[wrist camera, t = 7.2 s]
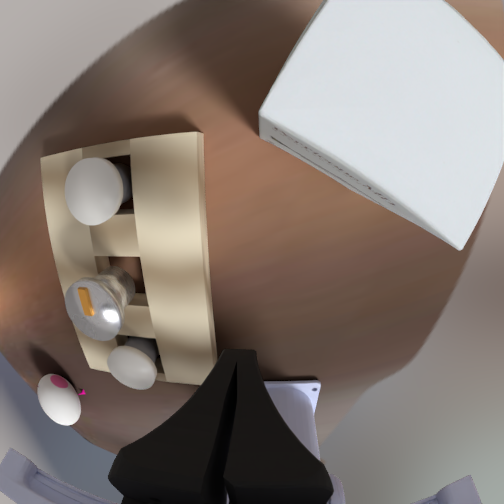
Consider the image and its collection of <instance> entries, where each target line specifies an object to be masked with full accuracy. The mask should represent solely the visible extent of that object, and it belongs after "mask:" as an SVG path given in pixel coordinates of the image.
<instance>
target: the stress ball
mask: <svg viewBox="0 0 504 504" xmlns="http://www.w3.org/2000/svg"><path fill="white" fill-rule="evenodd" d="M80 394H85V392H84V390H82V392H81V393H80ZM80 394H78V395H80ZM78 395H77V393H76V391H75V389H74V388H73V386H72V385H71V384H70V383H69V382H68V381H67V380H66V379H65V378H63V377H61V376H59V375H57V374H47V375H45V376H44V377H42V379H41V380H40V382H39V384H38V398H39V401H40V404H41V406H42V408H43V410H44V411H45V413H46V414H47V415H48V416H49V417H50V418H51V419H52V420H54V421H55V422H57V423H59V424H62V425H72V424H74V423H75V422H76V421H77V420H78V419H79V416H80V413H81V405H80V400H79V397H78ZM85 395H86V394H85Z"/></svg>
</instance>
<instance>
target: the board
mask: <svg viewBox="0 0 504 504" xmlns="http://www.w3.org/2000/svg"><path fill="white" fill-rule="evenodd" d="M125 155H130V158H131V176H132V190H133V202H134V209H119V210H118V211H117V212H116V214H115V215H114V216H113V217H112V218H110V219H109V220H107V221H105V222H103V223H101V224H98V225H86V224H83V223H81V222H80V221H78V220H77V219H76V218H75V217H74V216H73V215H72V213H71V212H70V210H69V208H68V206H67V203H66V199H65V182H66V178H67V175H68V173H69V171H70V170H71V168H72V167H73V166H74V165H75V164H76V163H77V162H79V161H80V160H83V159H86V158H94V157H100V158H104V159H105V158H111V157H118V156H125ZM40 159H41V174H42V186H43V195H44V203H45V211H46V217H47V224H48V230H49V235H50V240H51V245H52V250H53V255H54V259H55V264H56V268H57V272H58V276H59V280H60V283H61V287H62V290H63V294H64V297H65V295H66V292H67V290H68V288H69V287H70V286H71V285H72V284H74V283H75V282H76V281H77V280H79V279H80V278H83V277H93V278H95V277H96V276H97V275H98V274H99V273H101V272H102V271H103V270H104V269H105V268H107V267H109V266H110V263H109V258H108V256H137V257H140V259H141V266H142V272H143V278H144V284H145V289H146V294H144V293H135V295H134V297H133V299H132V300H131V301H130V303H129V304H128V305H127V306H126V308H125V309H124V313H125V321H124V324H123V326H122V328H121V329H120V331H119V332H118V334H117V335H116V336H115V337H114V338H113V339H111V340H108V341H99V340H95V339H92V338H90V337H88V336H87V335H85V334H84V333H83V332H81V331H80V330H79V329H78V328H77V327H76V326H75V324H74V323H73V325H74V328H75V331H76V334H77V336H78V339H79V342H80V344H81V347H82V349H83V352H84V354H85V357H86V359H87V361H88V364H89V366H90V368H92V369H97V370H102V371H106V372H110V370H109V368H108V365H107V359H108V357H109V355H110V354H111V352H112V351H113V349H114V348H116V347H118V346H124V345H125V344H126V342H127V340H128V338H127V335H128V336H136V337H145V338H155V339H156V341H157V345H158V350H159V354H160V357H161V359H160V358H157V359H156V361H155V363H154V364H155V366H156V369H157V376H156V378H155V380H159V381H167V382H176V383H185V384H195V385H201V384H202V383H203V382H204V380H205V379H206V377H207V376H208V375H209V373H210V372H211V370H212V369H213V367H214V365H215V364H216V362H217V360H218V358H217V349H216V339H215V329H214V318H213V307H212V295H211V283H210V269H209V255H208V239H207V222H206V201H205V176H204V137H203V133H200V132H186V133H175V134H165V135H157V136H149V137H141V138H134V139H127V140H121V141H115V142H109V143H104V144H98V145H93V146H88V147H84V148H79V149H75V150H70V151H66V152H62V153H58V154H54V155H50V156H46V157H42V158H40Z"/></svg>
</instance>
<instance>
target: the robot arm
mask: <svg viewBox="0 0 504 504" xmlns="http://www.w3.org/2000/svg"><path fill="white" fill-rule="evenodd" d="M320 386H321V384H320V381H318V380H309V381H263V379H262V376H261V373H260V370H259V367H258V362H257V357H256V351H255V350H244V349H224V350H223V351H222V353H221V355H220V357H219V359H218V360H217V362H216V364H215V365H214V367H213V369H212V370H211V372H210V373H209V375H208V376H207V377H206V379H205V380H204V382H203V383H202V384H201V386H200V387H199V388H198V389H197V390H196V392H195V393H194V394H193V395H192V397H191V398H190V399H189V400H188V401H187V402H186V403H185V404H184V405H183V406H182V407H181V408H180V409H179V410H178V411H177V412H176V413H175V414H173V415H172V416H171V417H170V418H169V419H168V420H166V421H165V422H164V423H163V424H161V425H160V426H158V427H157V428H156V429H154V430H153V431H151V432H150V433H148V434H147V435H145V436H144V437H142V438H140V439H138V440H137V441H135V442H133V443H131V444H129V445H127V446H125V447H123V448H121V450H120V451H119V453H118V455H117V456H116V458H115V460H114V462H113V465H112V467H111V470H110V472H109V475H108V479H109V481H110V482H111V484H112V485H113V486H114V487H115V488H116V489H117V490H119V492H120V493H121V494H123V495H124V497H123V500H122V503H121V504H345V496H344V491H343V486H342V483H341V480H340V479H339V478H338V477H336V476H334V474H328V472H327V470H326V468H325V466H324V464H323V463H322V462H321V461H320V455H319V448H318V441H317V434H316V427H315V420H314V412H315V408H316V404H317V399H318V395H319V391H320ZM0 491H1V492H3V493H4V494H5V495H6V496H8V497H9V498H10V499H12V500H13V501H14V502H16V503H17V504H117V503H114V502H111V501H108V500H105V499H103V498H100V497H98V496H95V495H92V494H90V493H87V492H85V491H83V490H80V489H78V488H76V487H73V486H72V485H69V484H67V483H65V482H63V481H61V480H59V479H57V478H55V477H53V476H51V475H49V474H47V473H45V472H44V471H42V470H40V469H38V468H37V466H36V465H35V464H34V463H33V462H32V461H30V460H29V459H28V458H27V457H25V456H24V455H22V454H20V453H19V452H17V451H16V450H14V449H12V448H10V449H9V451H8V452H7V454H6V456H5V457H4V459H3V461H2V463H1V464H0ZM411 504H482V503H481V500H480V498H479V495H478V492H477V489H476V487H475V484H474V482H473V479H472V477H471V475H468V476H466V477H464V478H462V479H460V480H457V481H455V482H453V483H451V484H449V485H447V486H445V487H444V488H442V489H441V490H440V491H439V492H438V493H437V494H435V495H433V496H431V497H428V498H425V499H422V500H420V501H417V502H414V503H411Z"/></svg>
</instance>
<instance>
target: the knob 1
mask: <svg viewBox="0 0 504 504" xmlns="http://www.w3.org/2000/svg"><path fill="white" fill-rule="evenodd" d="M132 196H133V190H132V176H131V168H130V167H128V166H127V165H125V164H122V163H116V164H112V163H111V162H110V161H108V160H106V159H104V158H100V157H94V158H86V159H83V160H80V161H79V162H77V163H76V164H75V165H74V166H73V167H72V168H71V170H70V171H69V173H68V175H67V178H66V182H65V199H66V203H67V206H68V208H69V210H70V212H71V213H72V215H73V216H74V217H75V218H76V219H77V220H78V221H80V222H81V223H83V224H86V225H98V224H101V223H103V222H105V221H107V220H109V219H110V218H112V217H113V216H114V215H115V214H116V212H117V211H118V209H119V208H120V205H121V204H122V203H125V202H127V201H128V200H129V199H130V198H131V197H132Z"/></svg>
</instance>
